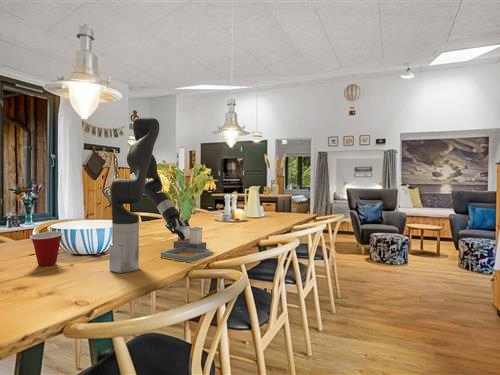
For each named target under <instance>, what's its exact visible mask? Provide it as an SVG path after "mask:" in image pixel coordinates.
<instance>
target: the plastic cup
mask: <svg viewBox="0 0 500 375" xmlns="http://www.w3.org/2000/svg"><path fill="white" fill-rule="evenodd" d="M63 234H64V232H63V231H56V230H55V231H54V230H53V231H45V232H39V233H34V234H32V235H30V236H29V238H30V239H31V241H32V243H33V246H34V252H35V257H36V262H37V264H38V267H42V268H43V267H51V266H55V265H56V264H57V260H58V255H59V250H60V245H61V240H62V236H63Z"/></svg>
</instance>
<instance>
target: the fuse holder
mask: <svg viewBox="0 0 500 375" xmlns="http://www.w3.org/2000/svg"><path fill="white" fill-rule="evenodd" d="M180 247H188V248H195V249H202V250H207V242H205V241H202V243H200V244H192V243H190V241H189V242H178V240H174V241H173V249H176V248H180Z"/></svg>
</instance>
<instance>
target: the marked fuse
mask: <svg viewBox="0 0 500 375" xmlns="http://www.w3.org/2000/svg"><path fill="white" fill-rule="evenodd" d="M190 228H191V225H189V226H180V227H179V229H180V230H181V231H180V232H182V233H183V234H184V236H185V239H184V240H181V239H180V237H179V236H178V235H177V241H178V242H189V241H190Z"/></svg>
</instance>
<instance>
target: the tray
mask: <svg viewBox="0 0 500 375" xmlns="http://www.w3.org/2000/svg"><path fill="white" fill-rule="evenodd" d="M181 252H189V253H196V254H195V255H191V256H188V255H183V254H182V255H181V254H178V253H181ZM176 253H177V254H176ZM211 255H212V250H209V249H208V250H207V249H204V250H202V249H195V248H188V247H180V248H173V249H169V250H165V251H161V252H160V259H163V260H169V261H173V260H174V261H173V262H179V263H184V262H185V263H186V264H192V261H195V260H199V259H201V258H205V257H207V256H211Z"/></svg>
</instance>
